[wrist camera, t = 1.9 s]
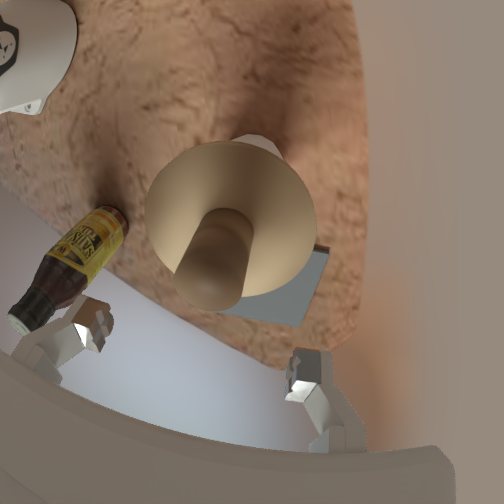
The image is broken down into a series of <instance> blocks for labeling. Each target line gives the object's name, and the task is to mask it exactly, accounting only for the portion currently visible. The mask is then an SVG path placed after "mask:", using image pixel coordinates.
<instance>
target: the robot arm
mask: <svg viewBox="0 0 504 504" xmlns="http://www.w3.org/2000/svg"><path fill="white" fill-rule="evenodd" d="M76 37H77V24H76V19H75V15H74V13H73V11H72V9H71V8H70V7H69V6H68V5H67V4H66V3H64V2H62V1H60V0H5V1H3V3H2V4H0V114H1V113H4V112H7V111H13V112H19V113H24V114H29V115H36V114H39V113H40V112H41V111H42V109H43V107H44V105H45V102H46V100H47V97H48V96H49V94H50V93H51V92H52V91H53V89H54V88H55V87H56V86H57V85H58V84H59V82H60V81H61V80H62V78H63V76H64V75H65V73H66V71H67V69H68V67H69V65H70V62H71V59H72V56H73V53H74V49H75V44H76ZM110 309H111V308H110V305H109V304H108V303H105V302H102V301H99V300H96V299H94V298H91V297H88V296H85V295H82V294H80V295H79V296H77V298H76V299H75V301H74V302H73V303H72V305H71V306H70V308H69V309H68V310H67V312H66V313H65V315H64V316H63V318H58V319H56V320H54V321H52V322H50V323H48V324H46V325H44V326H42V327H40V328H38V329H36V330H35V331H33V332H31V333H29V334H27V335H25V336H23V337H22V339H21V340H20V342H19V343H18V345H17V346H16V348H15V349H14V351H13V353H12V354H11V356H9V355H8V354H6V353H5V352H3V351H2V350H0V504H455V502H456V484H455V471H454V466H453V464H452V463H451V461H450V460H449V459H448V458H447V456H446V455H445V454H444V453H443V452H442V451H441V450H440V449H439V448H438V447H437V446H434V445H430V446H423V447H416V448H409V449H401V450H392V451H381V452H367V449H366V448H367V447H366V430H365V424H364V423H363V421H362V420H361V419H360V417H359V416H358V414H357V413H356V412H355V410H354V409H353V407H352V406H351V405H350V403H349V402H348V400H347V399H346V398H345V396H344V395H343V393H342V392H341V391H340V389H339V388H338V386H335V385H334V381H333V363H332V354H331V352H328V351H319V350H315V349H307V348H299V347H296V348H295V349H294V351H293V357H290V359H289V362H288V365H287V370H286V379H287V380H288V382H287V384H286V386H285V396H284V400H288V401H296V402H302V403H303V404H304V406H305V408H306V410H307V412H308V414H309V416H310V418H311V420H312V422H313V423H314V425H315V427H316V429H317V431H318V433H319V435H320V436H319V437H317V438H316V439H315V440H313V441H312V442H311V443H310V444H309V449H308V452H292V451H281V450H270V449H263V448H255V447H247V446H242V445H235V444H230V443H225V442H219V441H214V440H210V439H205V438H201V437H197V436H192V435H188V434H184V433H181V432H177V431H173V430H170V429H166V428H163V427H160V426H156V425H153V424H150V423H147V422H144V421H141V420H138V419H135V418H133V417H130V416H127V415H124V414H122V413H119V412H117V411H114V410H112V409H109V408H107V407H104V406H102V405H100V404H97V403H95V402H92V401H90V400H88V399H86V398H84V397H82V396H80V395H77V394H75V393H73V392H71V391H69V390H67V389H65V388H63V387H61V386H59V385H60V383H61V381H62V376H61V374H60V373H59V371H58V370H57V368H59V367H60V366H61V365H63V364H64V363H66V362H67V361H68V360H70V359H71V358H73V357H74V356H75V355H77V354H78V353H79V352H81V351H82V350H84V349H85V348H87V349H89V350H92V351H95V352H98V353H100V352H101V350H102V348H103V346H104V344H105V337H107V336H109V335H110V333H111V331H112V329H113V325H114V319H113V316H112V314H110V312H109V311H110Z"/></svg>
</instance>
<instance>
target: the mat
mask: <svg viewBox="0 0 504 504" xmlns="http://www.w3.org/2000/svg"><path fill="white" fill-rule="evenodd" d="M328 256H329V251H324V250H319V249H314V248H313V251H312V253H311V256H310V258H309V260H308V261H307V263H306V265H305V266H304V267H303V269H302V270H301V271H300V272H299V273H298V274H297V275H296V276H295V277H294V278H293V279H292V280H290V281H289V282H287V283H286V284H285V285H283V286H281V287H279V288H277V289H275V290H273V291H270V292H267V293H264V294H260V295H255V296H248V297H241V299H240V300H239V302H238V303H237V304H236V305H235V306H233V307H232V308H230V309H227V310H223V311H214V312H218V313H223V314H228V315H233V316H238V317H244V318H249V319H254V320H260V321H265V322H271V323H277V324H283V325H289V326H295V327H300V324H301V322H302V320H303V317H304V315H305V313H306V310H307V308H308V306H309V303H310V301H311V299H312V296H313V294H314V292H315V289H316V287H317V284H318V282H319V279H320V277H321V274H322V272H323V269H324V267H325V264H326V262H327V259H328Z"/></svg>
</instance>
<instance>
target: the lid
mask: <svg viewBox="0 0 504 504" xmlns="http://www.w3.org/2000/svg"><path fill="white" fill-rule="evenodd" d="M145 225H146V230H147V234H148V237H149V239H150V242H151V244H152V246H153V248H154V250H155V252H156V253H157V255H158V256H159V258H160V259H161V260H162V262H163V263H164V264H165V265H166V266H167V267H168V268H169V269H170V270H171V271H172V272H173V273H174V285H175V288H176V290H177V292H178V293H179V294H180V296H181V297H182V298H183V299H184V300H185V301H187V302H188V303H189V304H191V305H193V306H195V307H197V308H200V309H203V310H207V311H223V310H227V309H230V308H232V307H233V306H235V305H236V304H237V303H238V302H239V300H240V299H241V297H248V296H255V295H260V294H264V293H267V292H270V291H273V290H275V289H277V288H279V287H281V286H283V285H285V284H286V283H287V282H289V281H290V280H292V279H293V278H294V277H295V276H296V275H297V274H298V273H299V272H300V271H301V270H302V269H303V267H304V266H305V265H306V263H307V261H308V260H309V258H310V256H311V253H312V251H313V248H314V244H315V241H316V231H317V228H316V216H315V211H314V206H313V202H312V199H311V196H310V194H309V191H308V189H307V187H306V186H305V184H304V182H303V181H302V179H301V178H300V177H299V175H298V174H297V173H296V172H295V171H294V170H293V169H292V168H291V167H290V166H289V165H288V164H287V163H286V162H285V161H283V160H282V159H281V158H279V157H278V156H277V155H275V154H273V153H271V152H269V151H268V150H266V149H263V148H261V147H258V146H255V145H252V144H248V143H244V142H237V141H214V142H209V143H204V144H201V145H198V146H195V147H192V148H190V149H188V150H186V151H184V152H183V153H181V154H180V155H178V156H177V157H176V158H174V159H173V160H172V161H171V162H169V163H168V164H167V165H166V166H165V167H164V168H163V169H162V170H161V171H160V173H159V174H158V175H157V177H156V178H155V179H154V181H153V183H152V185H151V187H150V189H149V192H148V195H147V198H146V203H145Z"/></svg>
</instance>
